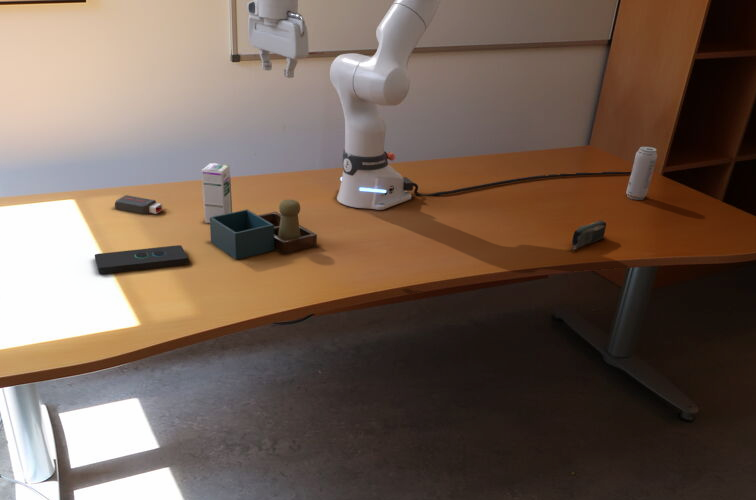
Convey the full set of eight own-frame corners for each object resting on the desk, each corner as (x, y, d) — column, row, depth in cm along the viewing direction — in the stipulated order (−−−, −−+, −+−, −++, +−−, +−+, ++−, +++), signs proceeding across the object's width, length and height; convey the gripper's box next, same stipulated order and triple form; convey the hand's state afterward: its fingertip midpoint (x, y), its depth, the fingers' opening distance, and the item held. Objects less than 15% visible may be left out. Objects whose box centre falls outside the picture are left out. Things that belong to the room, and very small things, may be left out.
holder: (275, 222, 197) (275, 211, 196) (316, 245, 185) (316, 234, 184) (244, 229, 192) (243, 218, 190) (283, 254, 180) (283, 242, 178)
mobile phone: (599, 218, 198) (569, 229, 189) (609, 221, 196) (580, 233, 187) (594, 235, 201) (565, 248, 191) (605, 239, 199) (576, 251, 189)
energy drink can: (628, 192, 233) (641, 144, 225) (648, 197, 230) (661, 148, 222) (622, 197, 228) (635, 148, 221) (642, 201, 226) (655, 152, 218)
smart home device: (188, 257, 171) (98, 267, 164) (188, 264, 172) (99, 274, 165) (181, 244, 178) (94, 253, 171) (181, 250, 179) (95, 260, 172)
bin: (248, 233, 190) (247, 209, 186) (274, 250, 182) (273, 224, 178) (210, 242, 184) (209, 217, 180) (236, 259, 176) (235, 233, 172)
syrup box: (225, 225, 194) (223, 171, 186) (204, 223, 194) (200, 168, 187) (232, 218, 198) (230, 164, 191) (211, 215, 199) (209, 162, 192)
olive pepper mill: (300, 248, 183) (301, 206, 177) (276, 247, 183) (276, 204, 177) (302, 239, 188) (302, 197, 182) (278, 237, 188) (278, 196, 182)
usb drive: (126, 202, 204) (124, 193, 203) (164, 209, 201) (163, 199, 200) (115, 208, 200) (113, 198, 199) (154, 215, 197) (153, 206, 195)
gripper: (316, 14, 161) (314, 81, 168) (266, 2, 174) (266, 65, 182) (292, 15, 158) (291, 83, 165) (242, 3, 171) (244, 66, 178)
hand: (277, 73), depth 173 cm, fingers open, 8 cm apart
